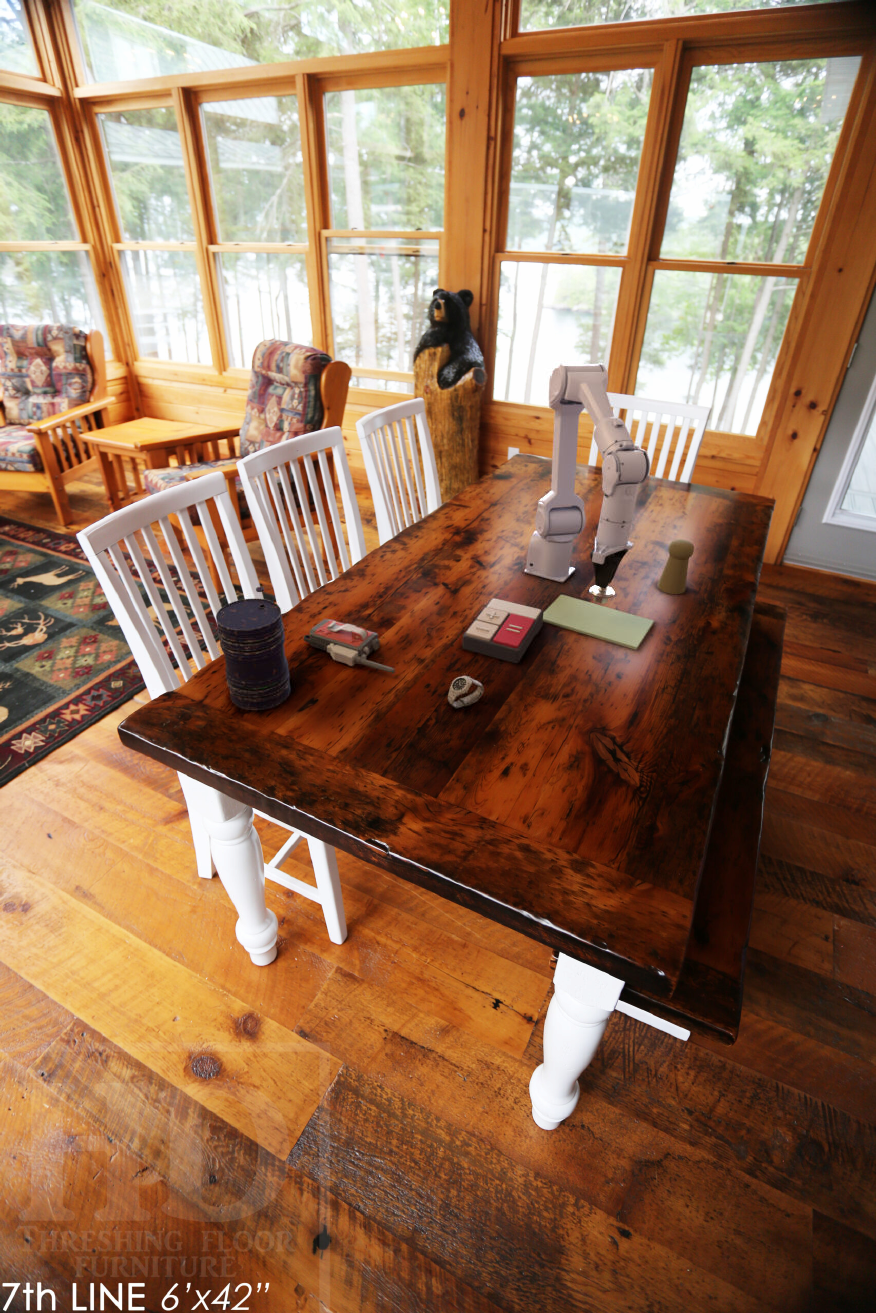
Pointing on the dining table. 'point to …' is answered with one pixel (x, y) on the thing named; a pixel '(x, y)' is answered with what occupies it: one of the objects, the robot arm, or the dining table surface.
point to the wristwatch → (464, 691)
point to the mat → (598, 621)
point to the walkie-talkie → (345, 643)
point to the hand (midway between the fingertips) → (603, 584)
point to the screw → (601, 593)
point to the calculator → (503, 630)
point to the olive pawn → (676, 567)
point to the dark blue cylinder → (254, 652)
